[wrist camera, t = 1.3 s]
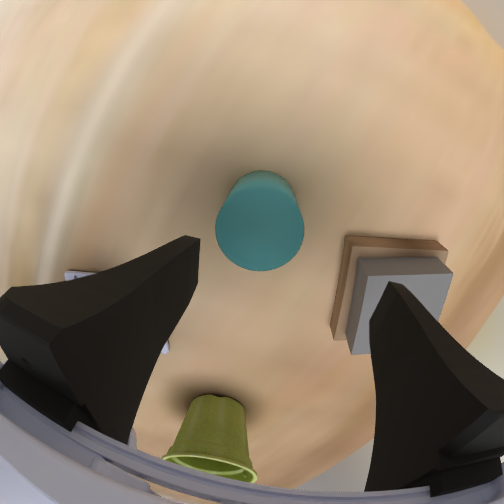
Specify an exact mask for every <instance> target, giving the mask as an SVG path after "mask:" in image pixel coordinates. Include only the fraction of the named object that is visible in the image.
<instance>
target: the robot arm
mask: <svg viewBox="0 0 504 504" xmlns="http://www.w3.org/2000/svg"><path fill="white" fill-rule="evenodd" d="M199 252H200V239H199V238H195V237H190V236H186V235H185V236H182V237H180V238H178V239H175V240H173V241H171V242H169V243H167V244H165V245H163V246H161V247H159V248H157V249H155V250H153V251H151V252H149V253H147V254H145V255H142V256H140V257H138V258H135V259H133V260H131V261H129V262H126V263H124V264H122V265H119V266H116V267H114V268H111V269H108V270H105V271H102V272H99V273H90V272H79V271H66V272H65V273H64V277H65V280H66V281H63V282H57V283H51V284H44V285H34V286H21V287H11V288H10V289H9V290H8V291H7V292H6V293H5V294H4V295H2V296H1V297H0V346H1V348H2V349H3V351H4V353H5V354H6V356H7V358H8V359H7V360H6V361H5V363H4V364H3V363H2V362H1V361H0V504H183V503H179V502H176V501H172V500H169V499H166V498H162V497H161V496H159V495H158V494H156V493H155V492H153V491H152V490H151V489H150V485H149V483H147V482H145V481H143V480H141V479H139V478H137V477H140V478H142V479H145V480H147V481H150V482H152V483H155V484H158V485H161V486H163V487H166V488H169V489H172V490H175V491H178V492H181V493H185V494H188V495H191V496H195V497H198V498H202V499H206V500H210V501H214V502H218V503H222V504H504V462H503V463H501V461H500V457H502V456H503V455H504V379H502V378H501V377H499V376H498V375H496V374H495V373H493V372H492V371H491V370H489V369H488V368H487V367H485V366H484V365H483V364H482V363H480V362H479V361H478V360H476V359H475V358H474V357H473V356H472V355H471V354H470V353H468V352H467V351H466V350H465V349H464V348H463V347H462V346H461V345H460V344H459V343H458V342H457V341H456V340H455V339H454V338H453V337H452V336H451V335H450V334H449V333H448V332H447V331H446V330H445V329H444V328H443V327H442V326H441V325H440V323H439V322H438V321H437V320H436V319H435V318H434V317H433V316H432V315H431V313H430V312H429V311H428V310H427V309H426V308H425V307H424V306H423V304H422V303H421V302H420V301H419V300H418V299H417V298H416V297H415V296H414V295H413V294H412V293H411V291H409V290H408V289H407V288H406V287H405V286H404V285H403V284H400V283H396V282H391V281H388V284H387V286H386V288H385V290H384V292H383V294H382V296H381V298H380V300H379V302H378V304H377V306H376V308H375V310H374V312H373V314H372V316H371V318H370V320H369V344H370V351H371V359H372V366H373V373H374V381H375V390H376V424H375V436H374V445H373V452H372V458H371V464H370V469H369V474H368V478H367V482H366V486H365V490H364V492H327V491H309V490H298V489H289V488H280V487H273V486H266V485H260V484H254V483H249V482H244V481H239V480H234V479H229V478H225V477H221V476H217V475H213V474H209V473H205V472H201V471H198V470H194V469H191V468H188V467H184V466H181V465H178V464H175V463H172V462H169V461H166V460H163V459H161V458H158V457H155V456H153V455H150V454H147V453H145V452H142V451H140V450H137V445H136V441H137V440H136V433H135V430H134V429H133V427H132V426H133V423H134V419H135V416H136V413H137V410H138V408H139V405H140V402H141V399H142V396H143V394H144V391H145V388H146V386H147V383H148V381H149V378H150V376H151V373H152V371H153V369H154V366H155V364H156V362H157V359H158V357H159V355H160V353H162V354H167V353H168V352H169V345H168V339H169V337H170V335H171V334H172V332H173V330H174V328H175V327H176V325H177V323H178V322H179V320H180V318H181V317H182V315H183V313H184V312H185V310H186V308H187V306H188V305H189V303H190V300H191V298H192V296H193V293H194V291H195V289H196V286H197V284H198V269H199ZM76 276H77V277H78V278H77V277H76ZM129 473H130V474H129ZM131 474H132V475H131ZM133 475H135V476H137V477H135V476H133Z"/></svg>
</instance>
